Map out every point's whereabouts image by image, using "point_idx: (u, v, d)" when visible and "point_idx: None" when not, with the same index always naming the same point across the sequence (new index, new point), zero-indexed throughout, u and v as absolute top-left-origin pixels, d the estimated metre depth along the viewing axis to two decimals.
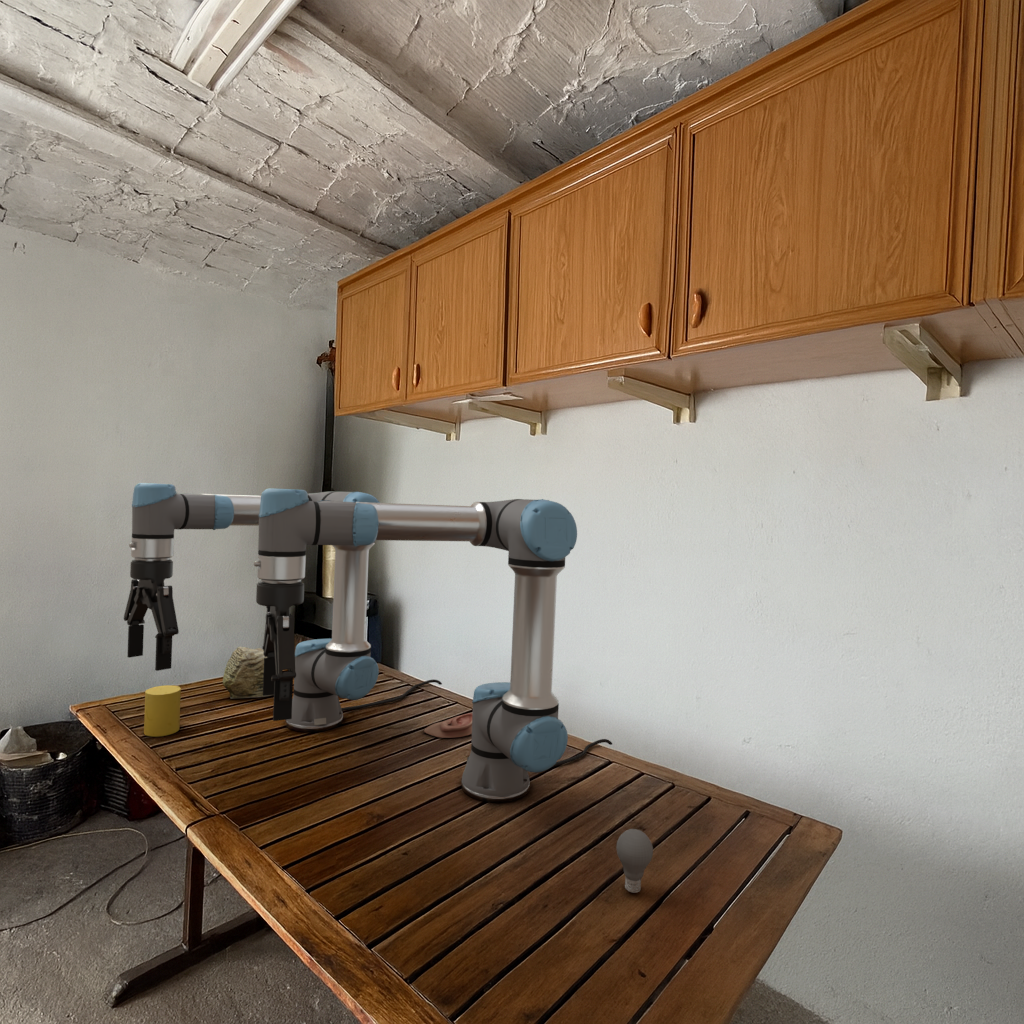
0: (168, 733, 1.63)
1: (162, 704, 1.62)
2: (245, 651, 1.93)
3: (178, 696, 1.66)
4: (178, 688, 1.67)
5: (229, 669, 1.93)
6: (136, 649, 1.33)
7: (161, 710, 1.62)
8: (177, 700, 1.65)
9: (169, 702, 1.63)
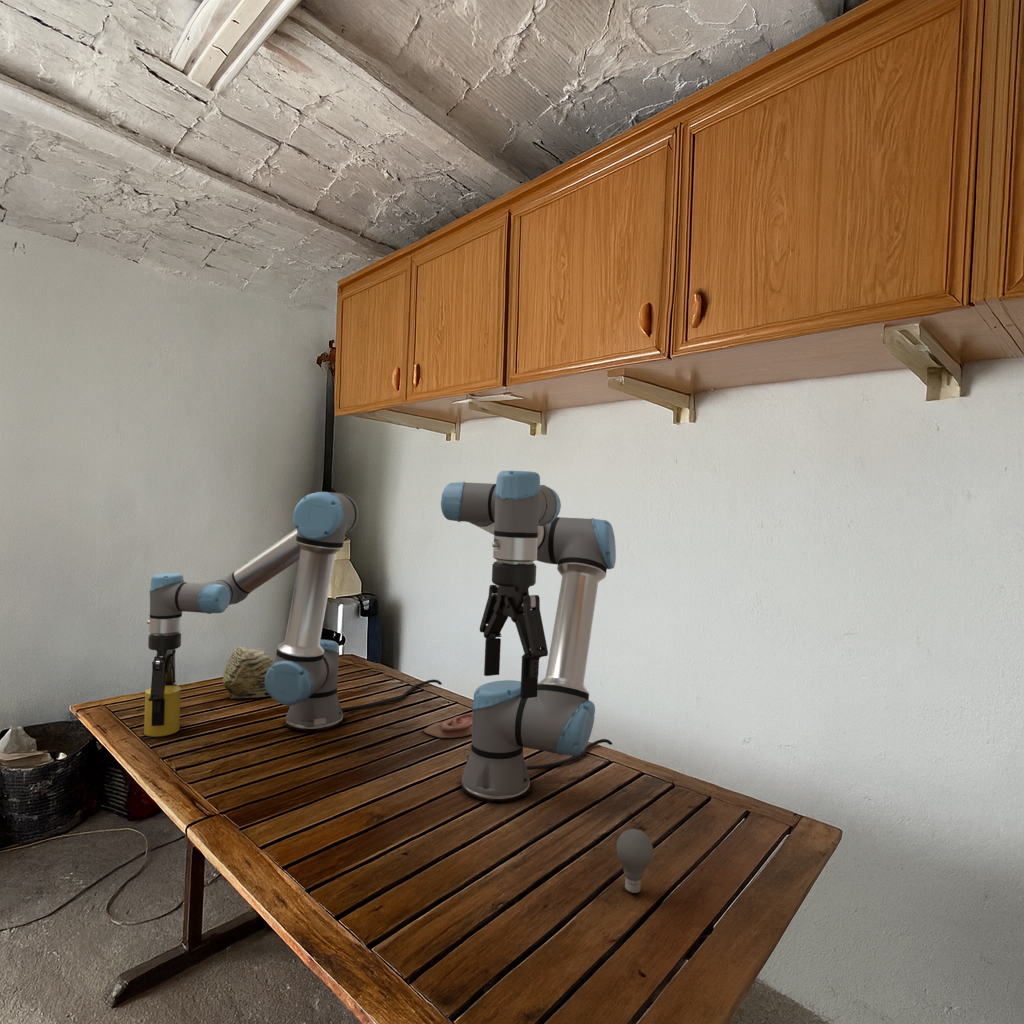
0: (168, 733, 1.63)
1: None
2: (245, 651, 1.93)
3: (178, 696, 1.66)
4: (178, 688, 1.67)
5: (229, 669, 1.93)
6: None
7: None
8: (177, 700, 1.65)
9: (169, 702, 1.63)
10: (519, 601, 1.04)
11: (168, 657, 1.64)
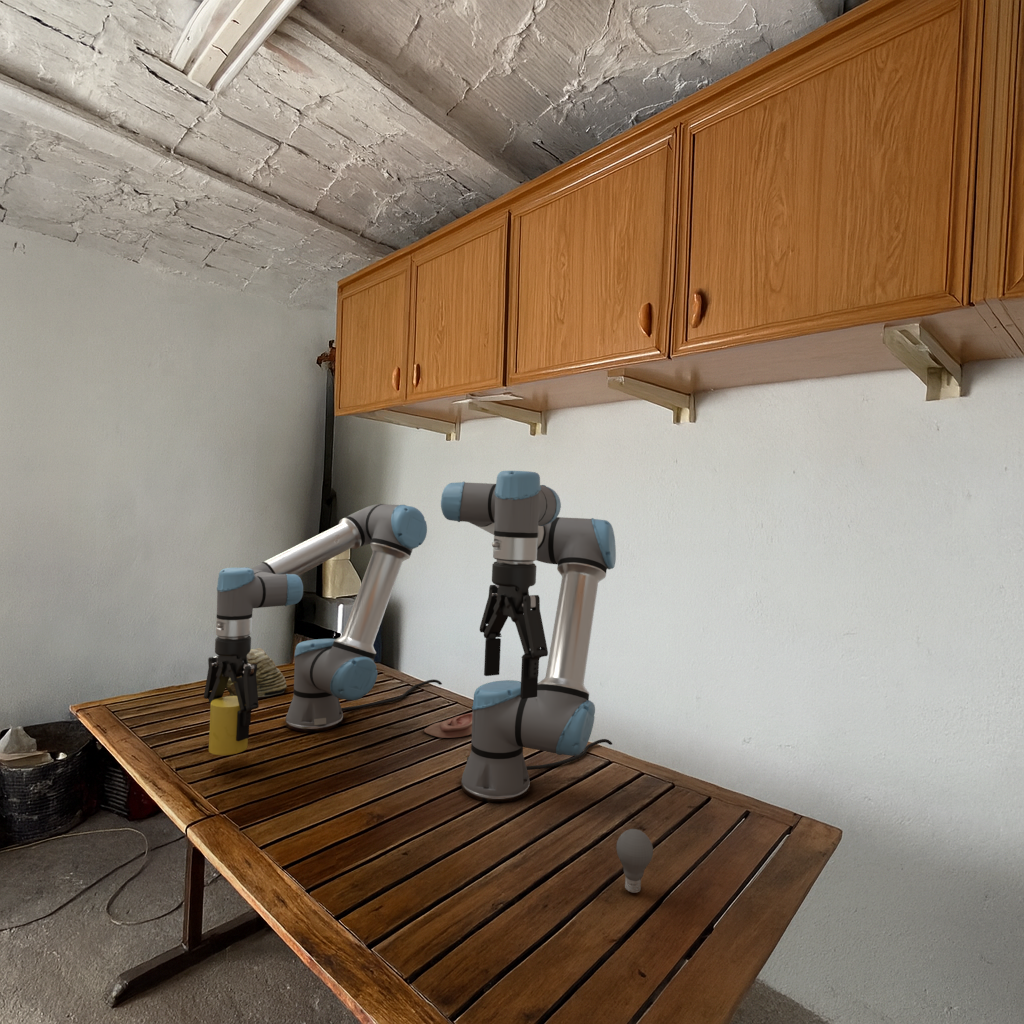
0: (247, 746, 1.45)
1: None
2: None
3: None
4: None
5: None
6: None
7: None
8: None
9: None
10: (519, 601, 1.04)
11: None
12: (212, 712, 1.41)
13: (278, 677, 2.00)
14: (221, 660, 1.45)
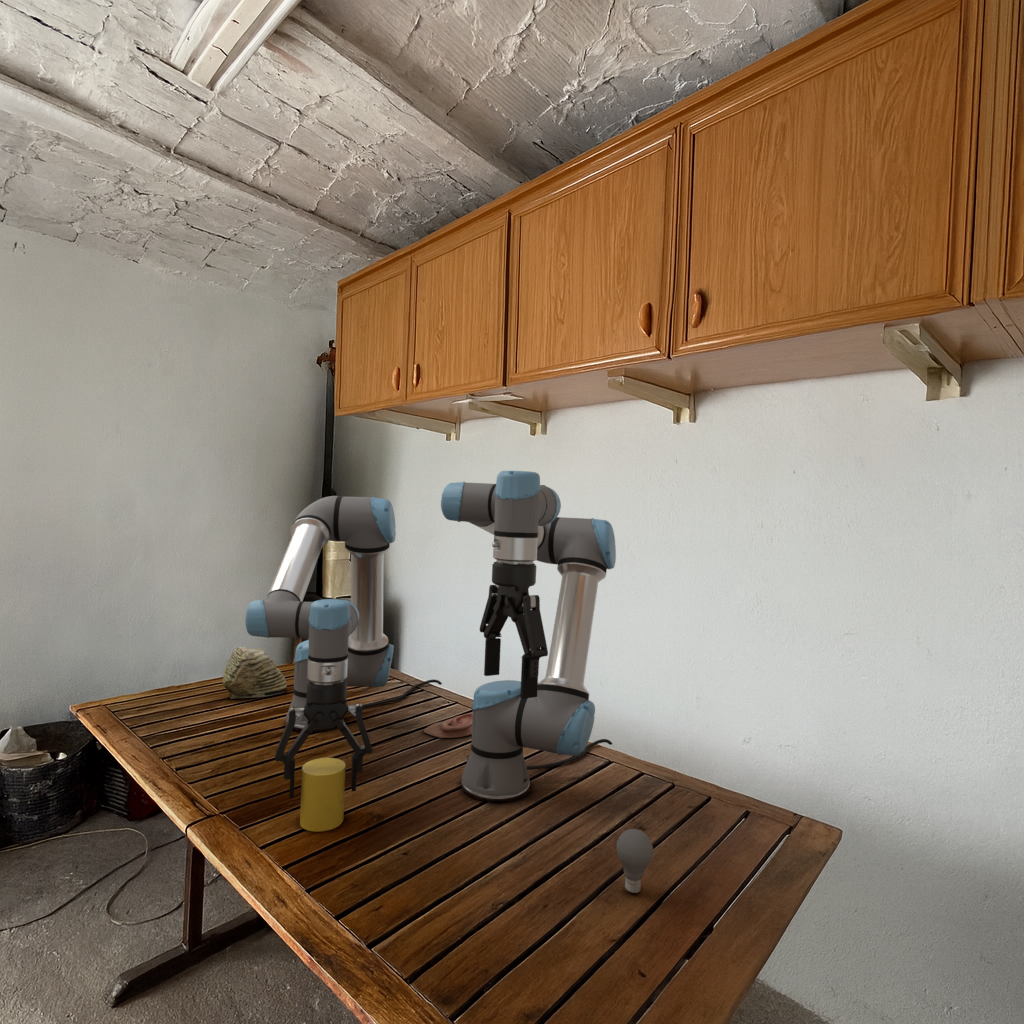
0: None
1: None
2: (245, 651, 1.93)
3: None
4: (319, 759, 1.27)
5: (229, 669, 1.93)
6: None
7: None
8: None
9: None
10: (519, 601, 1.04)
11: None
12: (320, 783, 1.20)
13: (278, 677, 2.00)
14: (313, 712, 1.22)
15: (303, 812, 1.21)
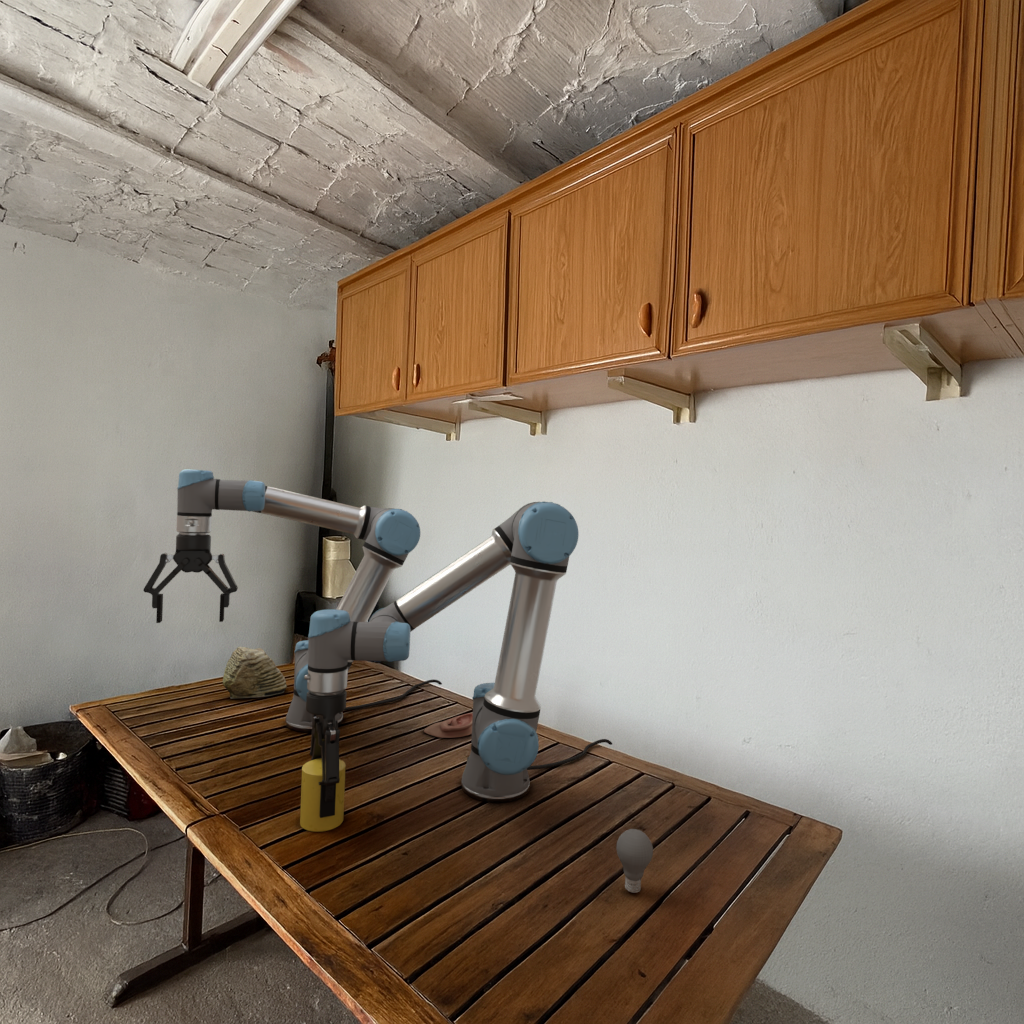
0: None
1: None
2: (245, 651, 1.93)
3: None
4: (319, 759, 1.27)
5: (229, 669, 1.93)
6: (161, 615, 1.51)
7: None
8: None
9: None
10: (325, 729, 1.20)
11: None
12: None
13: (278, 677, 2.00)
14: (181, 558, 1.51)
15: (303, 812, 1.21)
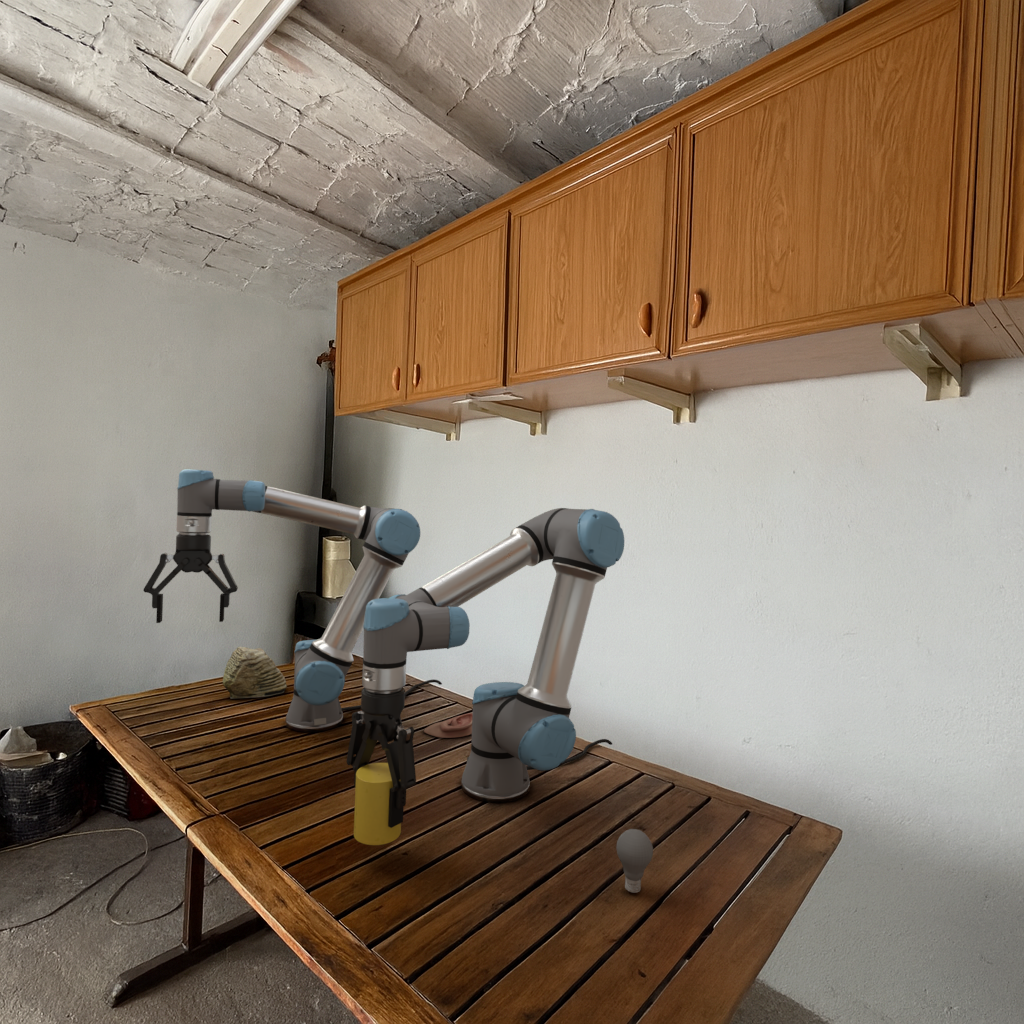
0: None
1: None
2: (245, 651, 1.93)
3: None
4: (365, 766, 1.14)
5: (229, 669, 1.93)
6: (161, 615, 1.51)
7: None
8: None
9: None
10: (393, 730, 1.08)
11: None
12: (388, 790, 1.08)
13: (278, 677, 2.00)
14: (181, 558, 1.51)
15: (367, 826, 1.08)
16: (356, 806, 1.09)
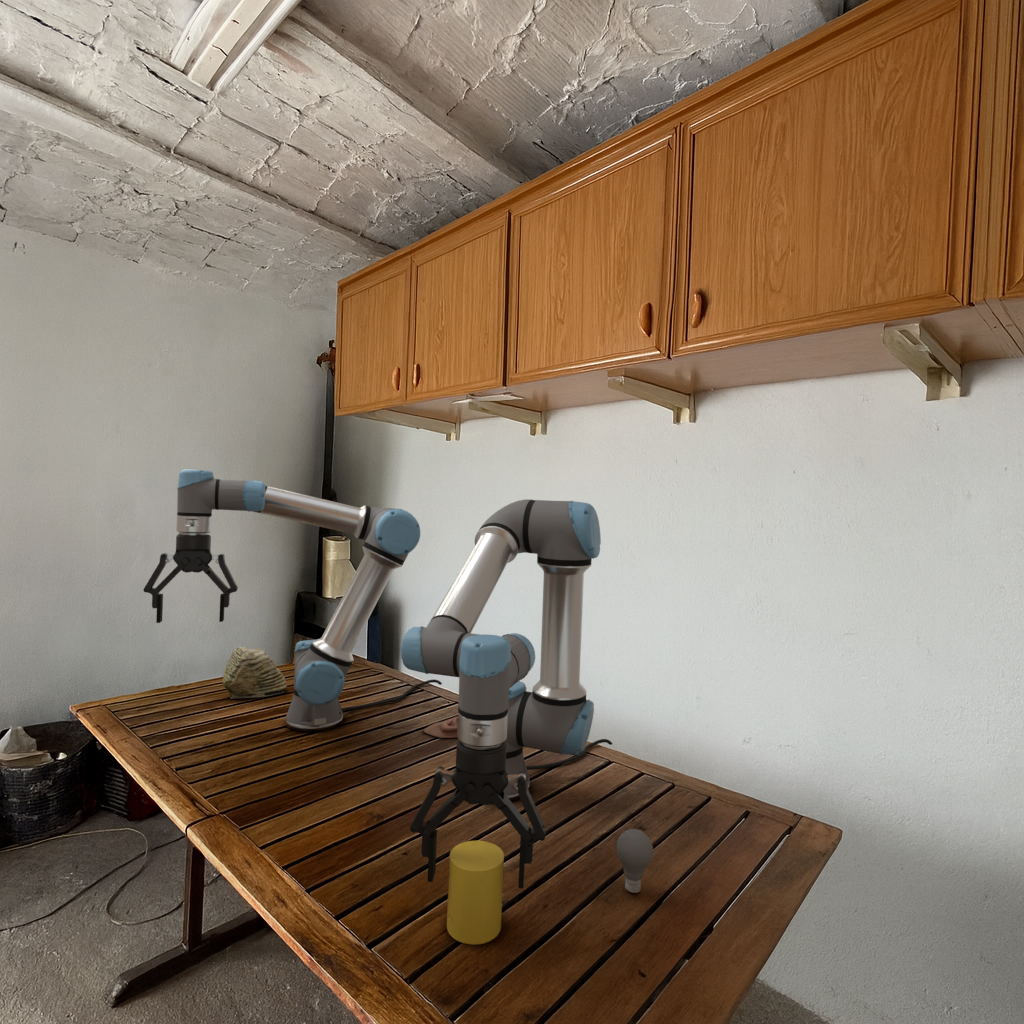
0: None
1: None
2: (245, 651, 1.93)
3: None
4: (453, 854, 0.95)
5: (229, 669, 1.93)
6: (161, 615, 1.51)
7: None
8: None
9: None
10: (505, 785, 0.94)
11: None
12: (501, 872, 0.94)
13: (278, 677, 2.00)
14: (181, 558, 1.51)
15: (482, 922, 0.92)
16: (463, 904, 0.92)
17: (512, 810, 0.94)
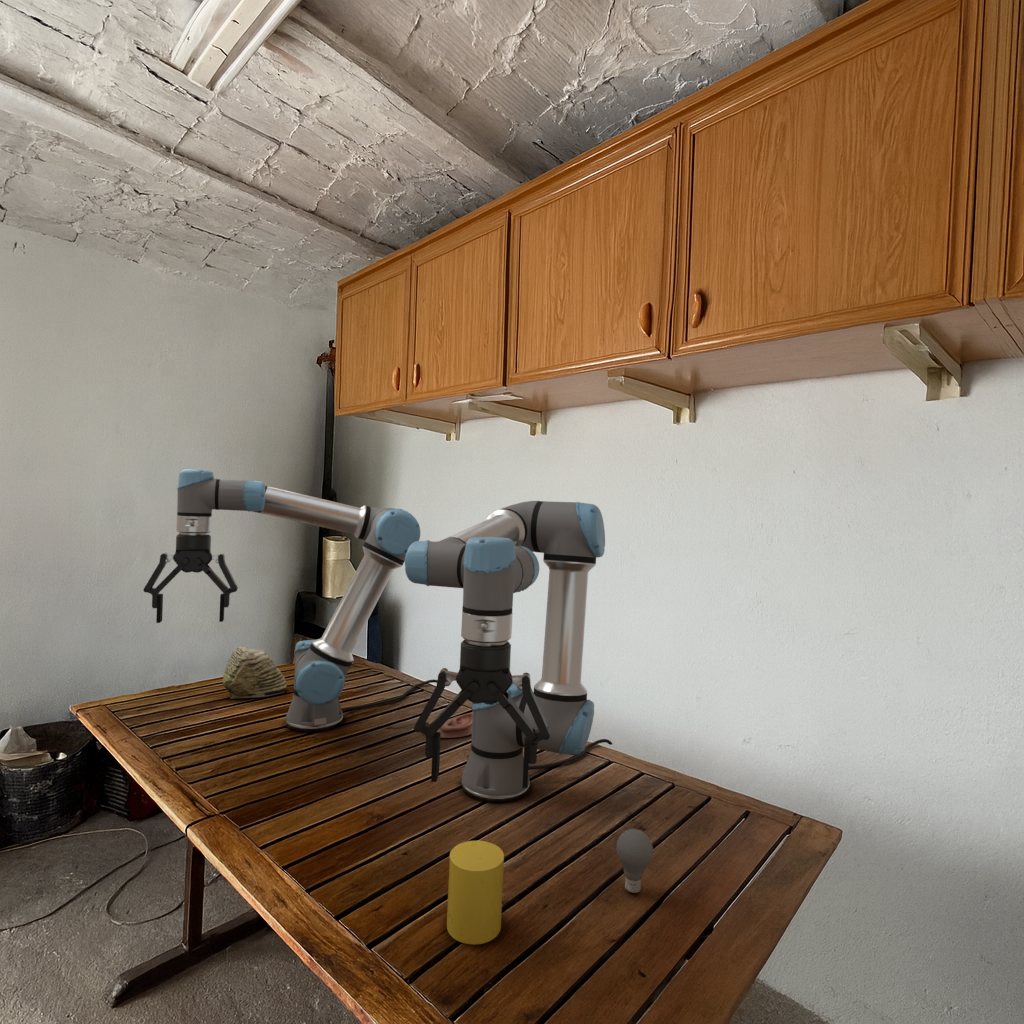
0: None
1: None
2: (245, 651, 1.93)
3: None
4: (453, 854, 0.95)
5: (229, 669, 1.93)
6: (161, 615, 1.51)
7: None
8: None
9: None
10: (510, 684, 0.94)
11: None
12: (501, 872, 0.94)
13: (278, 677, 2.00)
14: (181, 558, 1.51)
15: (482, 922, 0.92)
16: (463, 904, 0.92)
17: (516, 710, 0.94)
